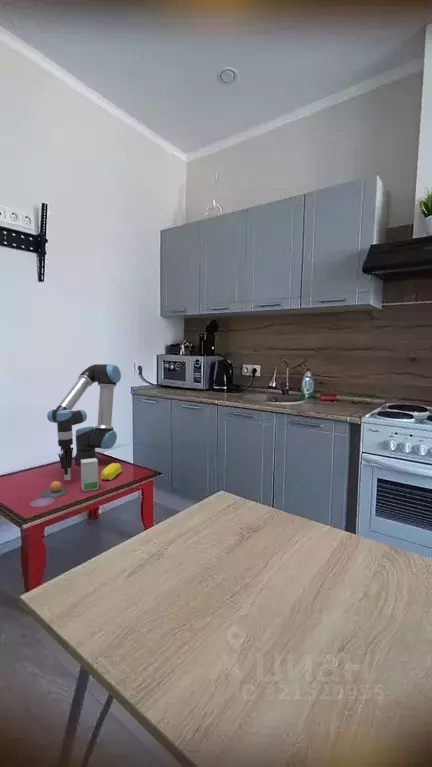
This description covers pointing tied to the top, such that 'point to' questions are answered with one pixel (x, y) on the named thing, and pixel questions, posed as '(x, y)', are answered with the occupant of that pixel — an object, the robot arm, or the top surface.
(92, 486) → the skincare box
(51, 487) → the ball
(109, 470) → the yellow elongated piece
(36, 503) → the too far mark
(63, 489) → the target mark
